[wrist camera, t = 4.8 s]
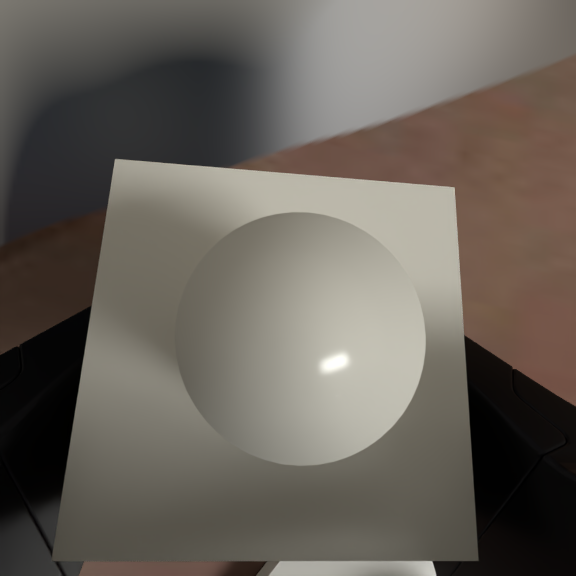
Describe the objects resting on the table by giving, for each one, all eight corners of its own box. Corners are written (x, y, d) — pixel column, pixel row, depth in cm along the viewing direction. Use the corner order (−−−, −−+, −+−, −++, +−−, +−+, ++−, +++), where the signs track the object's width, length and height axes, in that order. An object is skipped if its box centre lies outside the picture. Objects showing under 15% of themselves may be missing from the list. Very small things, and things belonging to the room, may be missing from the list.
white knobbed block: (322, 428, 15) (647, 705, 3) (195, 424, 14) (-128, 732, 2) (324, 305, 16) (560, 90, 4) (206, 298, 15) (33, 35, 3)
